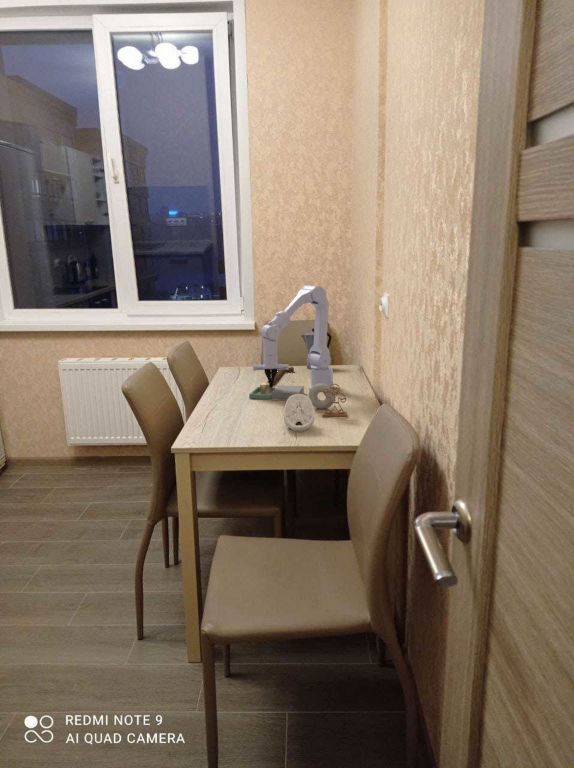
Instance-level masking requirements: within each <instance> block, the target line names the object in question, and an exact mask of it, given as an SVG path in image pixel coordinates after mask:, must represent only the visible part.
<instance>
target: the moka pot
mask: <svg viewBox="0 0 574 768" xmlns="http://www.w3.org/2000/svg"><path fill="white" fill-rule="evenodd" d="M300 337H301V338H302V339H303V342H304V343H305V347H306V350H307V351H306V352H307V358H306V368H307V369H308V368H309V370H311V364H310V363H309V362H308V355H309V353H310V348H311V347H312V346H313V344H314V327H313V328H311V332H308V333H302V334H301V335H300ZM327 337H328V339H327V342H326V346H327V348H328V349H329V348H330V346H331V345H330V344H331V341H332V335H331V334H330V333H329V332H328V331H327Z"/></svg>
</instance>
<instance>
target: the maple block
mask: <svg viewBox="0 0 574 768" xmlns="http://www.w3.org/2000/svg"><path fill="white" fill-rule="evenodd" d="M259 387H260V394H270V393H271V392H272V388H270V385H269V383H267V382H261V383H260V384H259Z"/></svg>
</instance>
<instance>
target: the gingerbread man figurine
mask: <svg viewBox="0 0 574 768" xmlns="http://www.w3.org/2000/svg"><path fill="white" fill-rule="evenodd" d="M332 385H333V387H332V388H331V386H332ZM332 385H331V386H330V389H333V390H332V391H333V392H334V394H333V392H332V391H331V390H330V392H331V393H330V392H329V390H328V389H324V390H328V391H327V392H326V391H325V392H324V391H323V392H322V393H323V395H324V397H325V398H326V397H327V396H326V395H325V393H329V394H332V396H334V402H331V397H327V398H330V405H331V403H333V404H332V405H334V404H337V405H338V406H339V408H340V409H339V410H338V408H337V407H336V405H334V406H333V407H332V409H329V408H330V407H331V406H332V405H331V406H330V405H329V406H330V407H329V406H328V408H326V410H325V411H323V412H322V414H321V417H322V416H323V417H322V418H329V417H347V418H348V412H346V411H344V410H343V408H342V406H341V404H340V402H341V403H346V400H347V397H346V396H345V395H344V393H342V392H340V390H341V389H340V385H339V384H337V383H333V384H332ZM334 385H335V386H336V387H334ZM338 395H341V396H343V398H341V397H339V396H338ZM337 396H338V397H337ZM336 397H337V401H336ZM334 409H335V410H336V411H333V410H334Z"/></svg>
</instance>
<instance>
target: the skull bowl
mask: <svg viewBox="0 0 574 768" xmlns="http://www.w3.org/2000/svg"><path fill="white" fill-rule="evenodd" d="M315 414H316V412H315V407H314V406H313V405H312V402H311V400H310V398H309V396H307V395H305V394H294V395H292V396H290V397H289V398H288V400H286V403H285V406H284V408H283V423H284V424H285V426H286V427H288V428H289V429H291V430H292V431H293V432H298V433H301V431H302V432H305V431H307V430H308V429H310V428H311V427H312V426H313V424H314V422H315ZM299 422H300V424H301V425H300V424H299V425H297V424H298V423H299Z"/></svg>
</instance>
